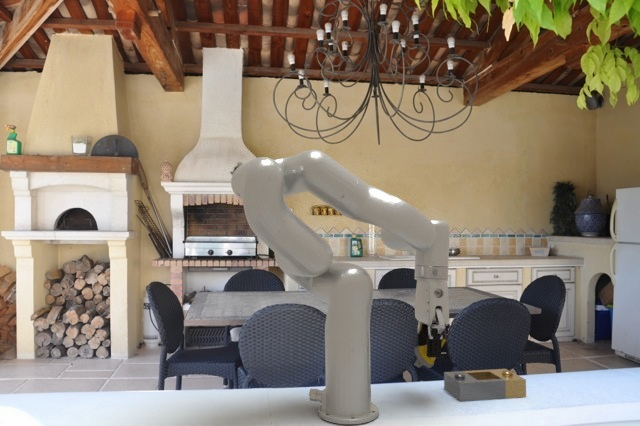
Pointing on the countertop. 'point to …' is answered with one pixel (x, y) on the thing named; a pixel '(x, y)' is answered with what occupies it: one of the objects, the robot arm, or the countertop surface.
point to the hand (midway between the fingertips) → (428, 353)
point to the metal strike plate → (484, 384)
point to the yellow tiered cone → (424, 356)
